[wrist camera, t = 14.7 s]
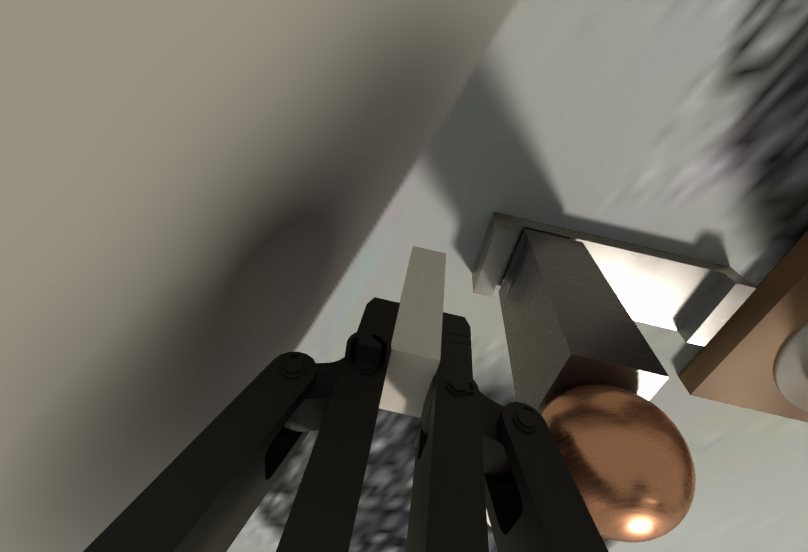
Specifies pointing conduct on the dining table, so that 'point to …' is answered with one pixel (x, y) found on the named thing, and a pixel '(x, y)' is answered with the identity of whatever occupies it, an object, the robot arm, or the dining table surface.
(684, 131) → the dining table surface
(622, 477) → the press lever
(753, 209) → the dining table surface
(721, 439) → the dining table surface
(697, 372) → the plate
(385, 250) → the dining table surface
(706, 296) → the lever rail
